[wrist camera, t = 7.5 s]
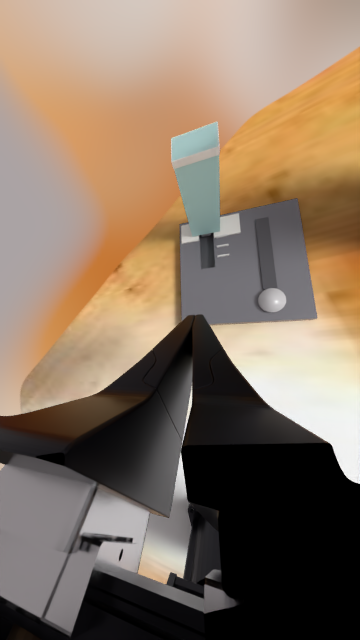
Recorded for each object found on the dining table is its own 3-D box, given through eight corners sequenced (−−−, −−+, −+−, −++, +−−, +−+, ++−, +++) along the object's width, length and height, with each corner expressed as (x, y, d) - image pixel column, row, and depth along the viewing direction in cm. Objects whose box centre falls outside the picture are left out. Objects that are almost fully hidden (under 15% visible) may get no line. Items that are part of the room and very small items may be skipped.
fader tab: (220, 235, 23) (219, 146, 13) (193, 240, 24) (171, 161, 14) (219, 219, 23) (217, 121, 13) (192, 225, 24) (171, 138, 14)
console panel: (312, 319, 19) (319, 317, 18) (183, 326, 23) (181, 325, 22) (294, 204, 22) (298, 195, 20) (181, 228, 26) (178, 222, 24)
